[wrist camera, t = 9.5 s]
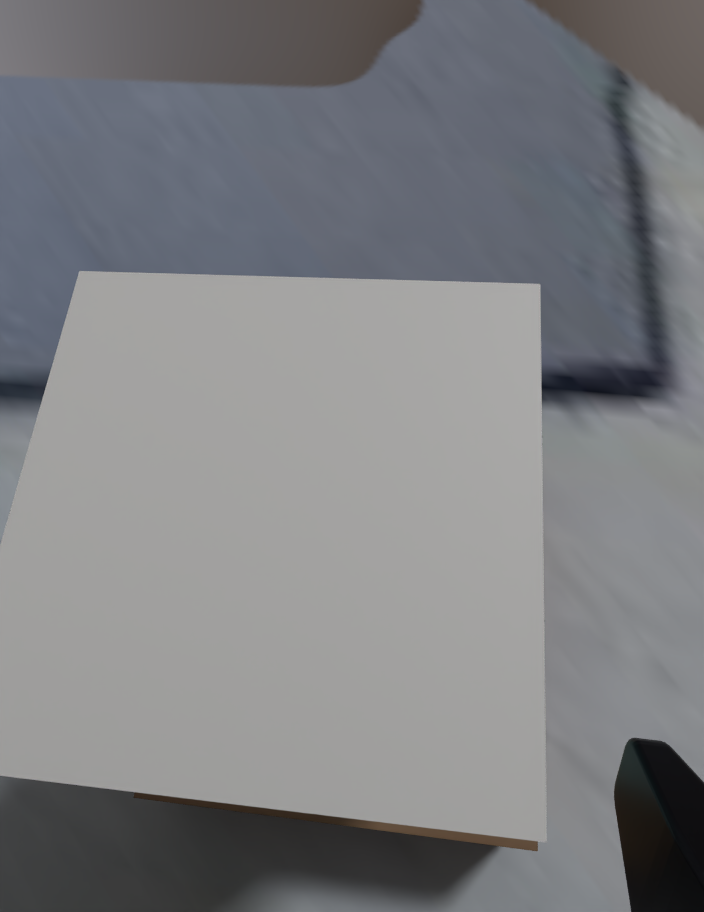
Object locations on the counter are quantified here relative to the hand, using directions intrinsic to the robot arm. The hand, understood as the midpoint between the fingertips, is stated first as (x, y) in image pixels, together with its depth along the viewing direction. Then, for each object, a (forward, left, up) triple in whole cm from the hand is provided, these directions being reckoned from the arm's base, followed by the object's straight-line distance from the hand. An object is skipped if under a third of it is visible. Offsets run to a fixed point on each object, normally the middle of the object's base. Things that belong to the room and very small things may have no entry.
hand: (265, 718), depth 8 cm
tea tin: (+2, 0, -10) cm, 11 cm away
